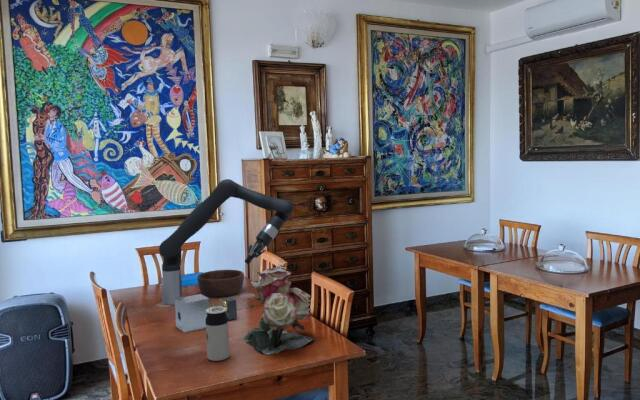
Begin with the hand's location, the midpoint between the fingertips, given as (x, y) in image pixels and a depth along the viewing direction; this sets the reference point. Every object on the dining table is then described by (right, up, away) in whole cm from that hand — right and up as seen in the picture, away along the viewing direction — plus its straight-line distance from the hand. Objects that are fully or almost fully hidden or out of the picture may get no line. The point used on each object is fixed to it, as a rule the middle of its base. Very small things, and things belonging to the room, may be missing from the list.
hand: (246, 262), depth 252 cm
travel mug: (-2, -28, -61) cm, 67 cm away
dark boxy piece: (-11, -24, -19) cm, 33 cm away
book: (-44, -20, +56) cm, 74 cm away
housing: (-20, -25, -25) cm, 40 cm away
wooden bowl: (-18, -20, +31) cm, 42 cm away
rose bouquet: (+21, -26, -46) cm, 56 cm away
